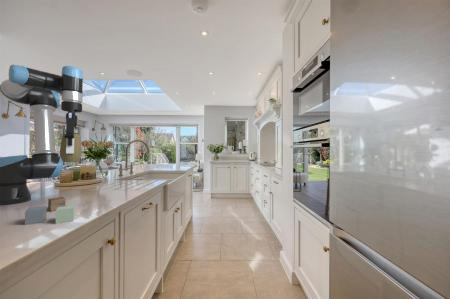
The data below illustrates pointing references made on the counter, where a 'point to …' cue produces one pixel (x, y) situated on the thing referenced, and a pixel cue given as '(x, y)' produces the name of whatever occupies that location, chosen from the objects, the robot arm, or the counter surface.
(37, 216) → the blue-grey cube
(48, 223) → the counter surface
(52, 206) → the walnut cube
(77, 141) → the squeeze bottle
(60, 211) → the sage cube
